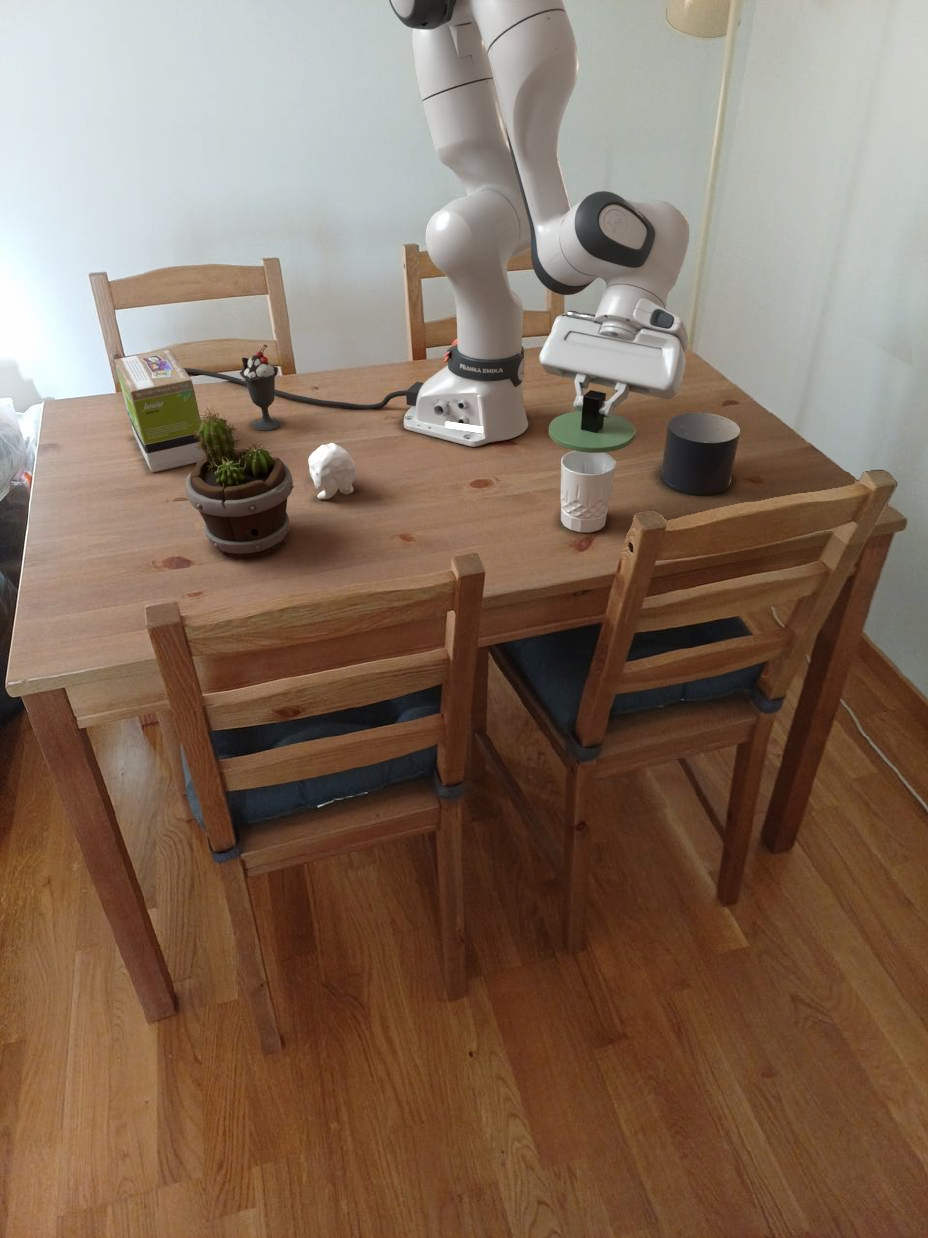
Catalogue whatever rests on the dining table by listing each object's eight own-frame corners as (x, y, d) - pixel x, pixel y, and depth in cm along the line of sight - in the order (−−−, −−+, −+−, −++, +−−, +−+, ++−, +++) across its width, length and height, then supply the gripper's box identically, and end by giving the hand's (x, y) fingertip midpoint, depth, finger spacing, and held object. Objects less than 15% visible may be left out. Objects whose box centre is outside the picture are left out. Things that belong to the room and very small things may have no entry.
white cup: (575, 502, 137) (580, 444, 131) (619, 519, 133) (626, 459, 127) (546, 523, 132) (550, 463, 126) (591, 541, 128) (597, 480, 122)
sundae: (289, 429, 158) (278, 347, 149) (252, 435, 156) (238, 353, 147) (281, 414, 163) (270, 334, 154) (245, 420, 161) (231, 339, 152)
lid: (533, 440, 122) (535, 400, 119) (571, 408, 130) (574, 371, 127) (613, 460, 117) (617, 420, 114) (647, 426, 125) (652, 387, 122)
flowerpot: (322, 536, 130) (306, 409, 117) (237, 581, 121) (210, 448, 108) (260, 503, 137) (240, 380, 125) (176, 543, 128) (145, 415, 116)
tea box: (132, 438, 156) (111, 356, 147) (189, 426, 159) (172, 346, 150) (150, 474, 145) (129, 389, 136) (210, 460, 149) (193, 377, 140)
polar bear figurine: (316, 456, 131) (292, 431, 140) (323, 508, 135) (300, 480, 145) (356, 447, 133) (330, 423, 142) (362, 498, 138) (336, 472, 147)
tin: (654, 488, 140) (661, 437, 135) (665, 457, 149) (673, 407, 143) (726, 500, 137) (737, 448, 132) (734, 468, 146) (744, 417, 140)
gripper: (553, 297, 123) (518, 387, 123) (693, 321, 115) (656, 419, 114) (565, 319, 129) (532, 406, 128) (700, 344, 120) (664, 437, 120)
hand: (591, 412), depth 121 cm, fingers closed on lid, 2 cm apart
